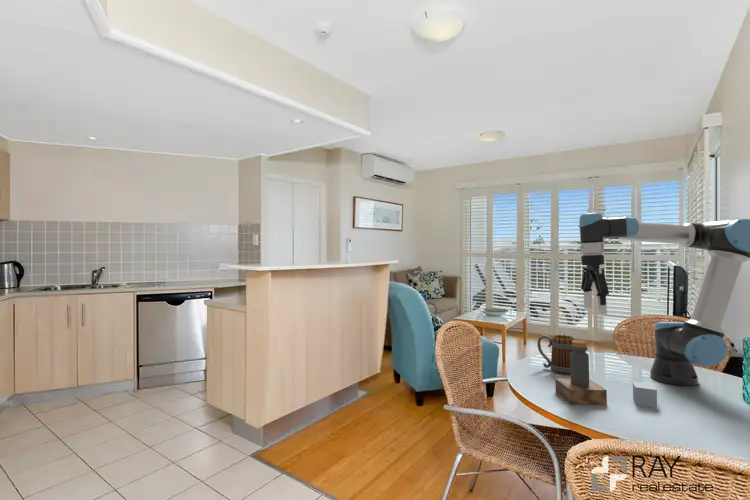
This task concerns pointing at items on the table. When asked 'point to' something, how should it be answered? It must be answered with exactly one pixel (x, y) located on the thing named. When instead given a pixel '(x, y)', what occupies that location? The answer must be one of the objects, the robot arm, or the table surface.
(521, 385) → the table surface
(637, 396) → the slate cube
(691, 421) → the table surface
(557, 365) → the mug
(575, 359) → the bottle
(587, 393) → the walnut block
